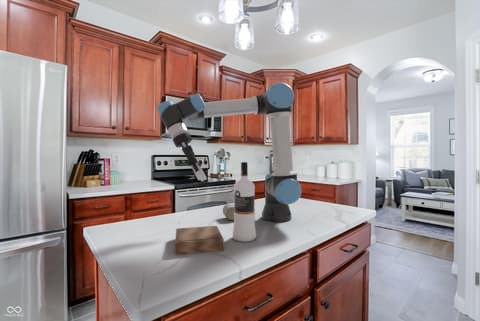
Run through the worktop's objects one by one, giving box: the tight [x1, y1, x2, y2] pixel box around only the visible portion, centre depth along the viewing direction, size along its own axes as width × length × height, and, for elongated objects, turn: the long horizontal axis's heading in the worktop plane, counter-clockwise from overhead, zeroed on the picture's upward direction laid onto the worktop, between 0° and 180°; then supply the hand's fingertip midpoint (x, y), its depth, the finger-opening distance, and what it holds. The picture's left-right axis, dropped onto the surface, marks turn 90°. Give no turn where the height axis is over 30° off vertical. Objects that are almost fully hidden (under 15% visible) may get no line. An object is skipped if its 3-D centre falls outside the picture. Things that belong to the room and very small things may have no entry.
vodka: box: [232, 161, 257, 243], centre depth 95 cm, size 9×9×30 cm
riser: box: [174, 225, 225, 256], centre depth 90 cm, size 16×16×4 cm
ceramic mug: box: [222, 202, 234, 222], centre depth 125 cm, size 11×8×8 cm
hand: (203, 179), depth 103 cm, fingers open, 13 cm apart
